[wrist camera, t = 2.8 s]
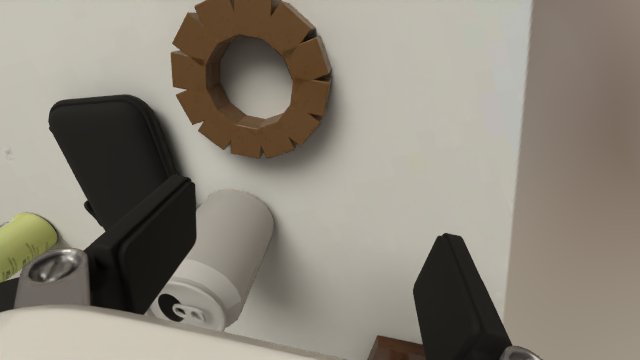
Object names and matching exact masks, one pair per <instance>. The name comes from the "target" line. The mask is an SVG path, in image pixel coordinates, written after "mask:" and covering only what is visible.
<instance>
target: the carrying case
mask: <svg viewBox="0 0 640 360" xmlns="http://www.w3.org/2000/svg"><path fill="white" fill-rule="evenodd" d="M49 125H50V127H49V130H50V131H51V132H52V133H53V135H54V137H55V139H56V141H57V143H58V145H59V147H60V148H61V150H62V152H63V154H64V156H65V158H66V160H67V162H68V164H69V166H70V167H71V169H72V171H73V173H74V175H75V177H76V179H77V181H78V183H79V185H80V186H81V188H82V190H83V192H84V194H85V196H86V198H87V199H88V201H86V202H85V203H84V207H85V209H86V210H87V211H88V212H89V213H90V214H91V215H92V216H93V217H94V218H95V219H96V220H97V222H98V223H99V225H100V226H103V228H104V230H105V231H107V230H108V229H109V228H111V227H112V226H113V225H114V224H115V223H116V222H118V221H119V220H120V219H121V218H122V217H124V216H125V215H126V214H127V213H128V212H129V211H131V210H132V209H133V208H134V207H135V206H137V205H138V204H139V203H140V202H141V201H142V200H144V199H145V198H146V197H147V196H148V195H149V194H151V193H152V192H153V191H154V190H155V189H157V188H158V187H159V186H160V185H161V184H162V183H164V182H165V181H166V180H167V179H168V178H170V177H171V176H172V175H177V174H176V171H175V169H174V166H173V163H172V160H171V158H170V155H169V152H168V149H167V146H166V143H165V141H164V138H163V135H162V132H161V129H160V127H159V124H158V122H157V119H156V117H155V115H154V113H153V111H152V109H151V108H150V107H149V106H148V105H147V104H146V103H145V102H144V101H142V100H141V99H139V98H137V97H135V96H132V95H125V94H124V95H113V96H101V97H90V98H79V99H67V100H62V101H59V102H57V103H56V104H54V105H53V107H52V108H51V110H50V113H49Z"/></svg>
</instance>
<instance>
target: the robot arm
mask: <svg viewBox="0 0 640 360" xmlns="http://www.w3.org/2000/svg"><path fill="white" fill-rule="evenodd" d="M196 239H197V228H196V198H195V184H194V183H193V182H191V179H190V178H188V177H184V176H179V175H172V176H171V177H170V178H168V179H167V180H166V181H165V182H164V183H162V184H161V185H160V186H159V187H158V188H157V189H155V190H154V191H153V192H152V193H151V194H149V195H148V196H147V197H146V198H145V199H144V200H142V201H141V202H140V203H139V204H138V205H137V206H135V207H134V208H133V209H132V210H131V211H129V212H128V213H127V214H126V215H125V216H124V217H122V218H121V219H120V220H119V221H118V222H116V223H115V224H114V225H113V226H112V227H111V228H109V229H108V230H107V231H106V232H105V233H103V234H102V235H101V236H100V237H99V238H98V239H96V240H95V241H94V242H93V243H92V244H91V245H90V246H89V247H87V248H86V249H85V250H84V251H82V250H80V249H76V248H61V249H55V250H52V251H48V252H46V253H43V254H41V255H39V256H37V257H35V258H34V259H32V260H31V261H29V262H28V263H27V264H26V265H25V266H24V268H23V269H22V271H21V274H20V277H18V278H14V279H11V280H7V281H4V282H0V360H345V359H341V358H337V357H332V356H328V355H324V354H319V353H315V352H310V351H306V350H301V349H297V348H292V347H288V346H284V345H279V344H275V343H270V342H266V341H261V340H257V339H252V338H248V337H243V336H239V335H234V334H230V333H225V332H220V331H216V330H211V329H207V328H202V327H198V326H193V325H188V324H184V323H179V322H175V321H170V320H165V319H161V318H156V317H151V316H146V315H144V314H145V313H146V311H147V310H148V309H149V307H150V306H151V304H152V303H153V302H154V300H155V299H156V298H157V296H158V295H159V293H160V292H161V291H162V289H163V288H164V286H165V285H166V284H167V282H168V281H169V280H170V278H171V277H172V275H173V274H174V273H175V271H176V270H177V268H178V267H179V266H180V264H181V263H182V262H183V260H184V259H185V257H186V256H187V255H188V253H189V252H190V251H191V249H192V248H193V246H194V245H195V242H196ZM413 295H414V300H415V306H416V311H417V316H418V321H419V327H420V332H421V337H422V342H423V348H424V353H425V358H426V360H543V359H541V358H540V357H539V356H538V355H536V354H534V353H533V352H531V351H530V350H528V349H525V348H523V347H519V346H512V344H511V341H510V339H509V337H508V335H507V333H506V331H505V328H504V326H503V324H502V322H501V320H500V317H499V315H498V313H497V311H496V309H495V307H494V304H493V302H492V300H491V298H490V296H489V294H488V291H487V289H486V287H485V285H484V283H483V281H482V279H481V277H480V275H479V273H478V271H477V269H476V266H475V264H474V262H473V260H472V258H471V256H470V253H469V251H468V249H467V247H466V245H465V243H464V240H463V238H462V237H461V236H457V235H452V234H448V233H444V234H443V235H442V236H438V237H437V239H436V241H435V243H434V245H433V247H432V249H431V251H430V253H429V255H428V257H427V259H426V261H425V263H424V266H423V268H422V270H421V272H420V274H419V276H418V278H417V280H416V282H415V284H414V288H413Z"/></svg>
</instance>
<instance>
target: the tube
mask: <svg viewBox="0 0 640 360" xmlns="http://www.w3.org/2000/svg"><path fill="white" fill-rule="evenodd" d="M56 242H57V234H56V232H55V230H54V228H53V227H52V226H51V225H50V224H49V223H48V222H47V221H46V220H44V219H43V218H41V217H39V216H37V215H34V214H30V213H22V214H19V215H17V216H15V217H13V218H12V219H10V220H8V221H7V222H5V223H3V224H2V225H0V282H4V281H6V280H7V279H9V278H10V277H11V276H12V275H14V274H15V273H17V272H18V271H20V270H21V269H22V268H24V266H25V265H26V264H27V263H28V262H29V261H31V260H32V259H34V258H35V257H37V256H39V255H41V254H43V253H44V252H45V251H47V250H48V249H49V248H51V247H52V246H53V245H55V244H56Z"/></svg>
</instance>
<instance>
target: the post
mask: <svg viewBox="0 0 640 360" xmlns="http://www.w3.org/2000/svg"><path fill="white" fill-rule="evenodd" d="M368 360H426V358H425V353H424V348H423V345H420V344H416V343H411V342H406V341H401V340H396V339H392V338H387V337H382V336H377V338H376V341H375V343H374V345H373V348H372V350H371V352H370V355H369V357H368Z"/></svg>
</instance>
